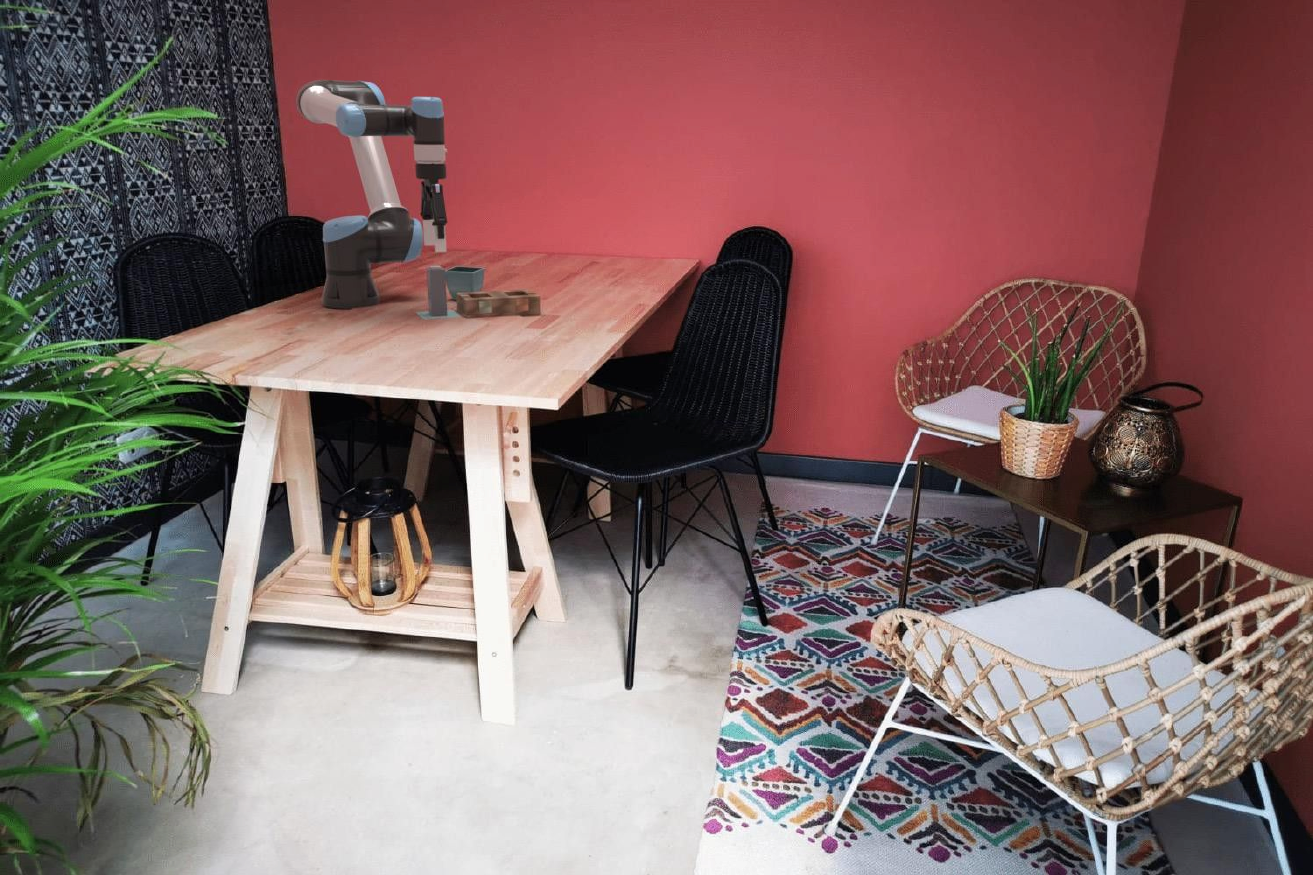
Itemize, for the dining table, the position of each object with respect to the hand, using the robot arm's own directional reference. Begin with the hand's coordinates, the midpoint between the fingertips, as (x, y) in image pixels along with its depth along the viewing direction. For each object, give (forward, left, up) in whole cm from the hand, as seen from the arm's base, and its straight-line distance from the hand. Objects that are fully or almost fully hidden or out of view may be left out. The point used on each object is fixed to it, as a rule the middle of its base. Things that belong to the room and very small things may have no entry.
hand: (435, 248), depth 241 cm
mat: (0, 0, -18) cm, 18 cm away
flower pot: (+12, +19, -18) cm, 29 cm away
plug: (0, 0, -17) cm, 17 cm away
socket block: (+16, -1, -18) cm, 24 cm away
